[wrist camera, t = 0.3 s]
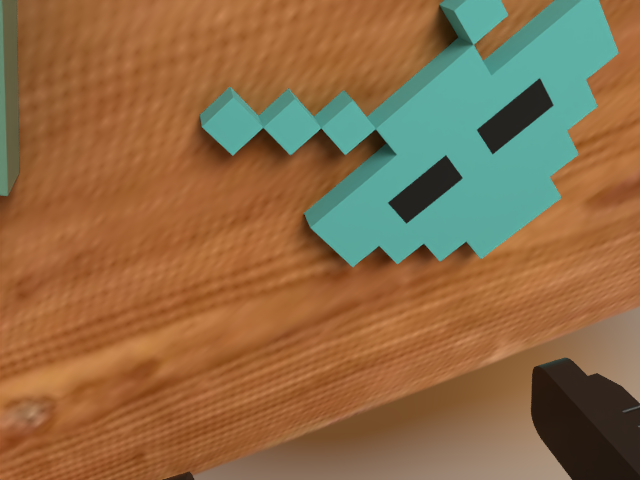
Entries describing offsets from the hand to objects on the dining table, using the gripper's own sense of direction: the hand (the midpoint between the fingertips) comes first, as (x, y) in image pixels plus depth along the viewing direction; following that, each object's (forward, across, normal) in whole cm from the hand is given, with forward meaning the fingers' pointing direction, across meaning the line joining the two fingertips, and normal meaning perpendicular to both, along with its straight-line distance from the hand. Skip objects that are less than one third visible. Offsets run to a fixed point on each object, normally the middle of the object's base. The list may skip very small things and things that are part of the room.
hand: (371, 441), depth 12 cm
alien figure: (+22, -11, 0) cm, 24 cm away
